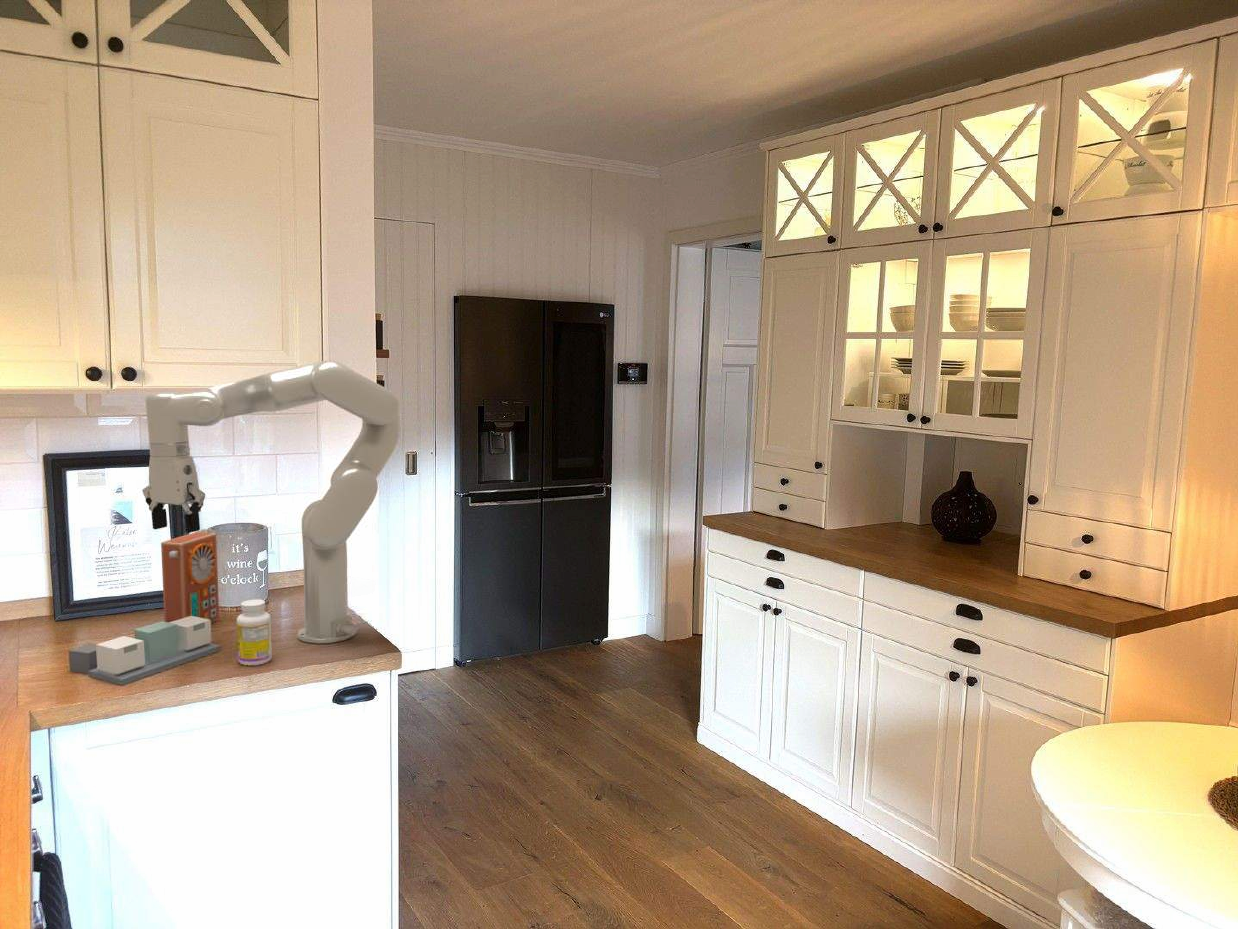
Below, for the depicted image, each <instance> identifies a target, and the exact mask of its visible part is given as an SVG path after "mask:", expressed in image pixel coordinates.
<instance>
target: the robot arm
mask: <svg viewBox="0 0 1238 929" xmlns="http://www.w3.org/2000/svg"><path fill="white" fill-rule="evenodd" d="M323 401H328V403H331V404H333V405H334V406H337V407H339V408H340V409H343V410H344V411H346V412H347V413H349V414H351V415H354V416H355V417H358V418H360V419H361V420H362V425H361V426H362V427H361V429H360V432H359V435H358V436H357V438H356V439H355V441H354V443H352V446H351V447H350V448H349V450H348V452H347V453H346V455H345V456H344V458H343V459H342V460H341V462H340V463H339V464H338V466H337V467H336V468H335V470H334V471H333V472H332V474H331V477H330V487H329V489H328V490H327V491H326V493H325V494H324V496H323V497H322V498H321V499H318V500H315V501H313V502H311V503H310V504H309V505H307V507H306V508H305V510H304V511H303V514H302V517H301V536H302V557H303V558H302V559H303V561H302V562H303V563H302V564H303V593H304V594H303V604H304V627H302V628H300V629H299V630H298V631H297V638H298V639H299V640H300V641H302V642H305V643H310V644H332V643H338V642H342V641H346V640H348V639H350V638H352V637H354V636H355V635H356V634H357V631H358V630H359V629H360V624H359V623H355V622H354V623H353V622H352V616H351V615H349V608H348V606H349V603H348V601H349V600H348V593H349V592H348V550H347V549H348V546H347V541H348V539H349V537H351V535H352V534H353V532H354V531H355V529H356V528H357V527H358V525H359V523H361V521H362V519H363V518H364V516H365V515H366V513H367V512H368V510H369V509H370V507H371V506H372V505H373V502H374V500H376V497H377V494H378V488H379V486H378V485H379V483H378V477H379V475H380V474H381V472H382V471H383V469H384V468H385V466H386V464H387V462H388V461H389V459H390V457H392V455H393V453H394V451H395V449H396V446H397V444H398V441H399V437H400V431H401V430H400V429H401V428H400V427H401V426H400V417H399V410H400V403H399V399H398V397H397V396H396V394H395V393H394V392H393V391H392V390H390V389H388V388H387V387H385V386H383V385H382V384H380V383H377V382H375V381H373V380H371V379H370V378H368V377H366V376H363V375H362V374H360V373H358V372H356V371H354V370H353V369H351V368H349V367H348V366H346V365H345V364H343V363H341V362H339V361H335V360H321V361H318V362H317V361H316V362H313V363H309V364H305V365H300V366H295V367H290V368H286V369H282V370H278V371H276V370H275V371H272V372H268V373H264V374H263V373H262V374H260V375H258V376H257V375H256V376H254V377H250V378H247V379H242V380H237V381H233V382H229V383H223V384H220V385H216V386H210V387H205V388H202V389H199V390H196V391H195V392H187V393H181V392H177V391H162V392H161V391H159V392H151V393H149V394H147V396H146V397H145V409H146V412H145V413H146V419H147V420H146V421H147V423H146V424H147V431H148V434H147V435H148V443H149V444H148V446H149V455H150V456H149V464H148V485H147V486H146V487H144V488H143V489H142V490H141V491H142V494H143V496H144V498H145V502H146V504H147V505H148V510H149V511H150V512H151V521H152V522H151V523H152V525H151V526H152V529H153V530H160V529H164V528H167V527H168V518H167V517H168V516H167V508H165V506H166V505H177V506H182V508H183V510H184V511H185V514H184V515H183V516H184V527H185V533H188V534H191V533H195V532H200V530H201V525H200V523H201V522H200V513H201V511H202V507H203V506H204V502H205V498H206V493H205V492H204V491H202V490H201V489H200V484H199V479H198V473H197V469H196V463H195V460H194V457H193V456H191V452H190V451H191V448H190V441H189V439H190V438H189V426H194V427H195V426H196V427H211V426H215V425H216V424H218V423H219V422H221V420H225V419H229V418H233V417H238V416H243V415H248V414H253V413H260V412H264V413H265V412H266V413H269V412H273V413H275V412H280V411H285V410H288V409H293V408H297V407H301V406H307V405H310V404H313V403H319V402H323Z"/></svg>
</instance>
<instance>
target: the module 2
mask: <svg viewBox="0 0 1238 929" xmlns="http://www.w3.org/2000/svg"><path fill="white" fill-rule="evenodd" d="M134 639H139V640H143V641H144V652H145V660H147V661H153V660H156V659H159V658H162V657H165V656H168V655H171V654H174V653H176V652H178V634H177V624H173V623H169V622H165V620H164V621H163V620H161V621H158V622H155V623H152V624H148V625H145V626H142V627H138V628H135V629H134Z"/></svg>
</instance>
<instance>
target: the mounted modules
mask: <svg viewBox="0 0 1238 929" xmlns="http://www.w3.org/2000/svg"><path fill="white" fill-rule="evenodd" d="M169 623H173V624H177V634H178V648H181V649H185V650H189V649H192V648H195V647H198V646H201V645H204V644H207V643H212V623H211V620H209V619H204V618H199V617H194V616H189V617H186V618H182V619H179V620H176V621H172V622H169ZM95 644H96V654H97V669H100V670H104V671H108V672H111V673H115V674H119V673H122V672H125V671H128V670H131V669H134V668H137V667H140V666H143V665H145V652H144V641H143V640H139V639H135V637H129V636H125V635H123V636H119V637H116V638H113V639H110V640H106V641H104V642H100V643H95Z"/></svg>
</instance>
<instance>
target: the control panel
mask: <svg viewBox="0 0 1238 929" xmlns="http://www.w3.org/2000/svg"><path fill="white" fill-rule="evenodd" d="M217 543H218V540H217V533H216V532H206V531H204V532H203V531H195V532H191V533H188V534H185V535H182V536H178V537H175V538H172V539H168V540H166V541H162V542H160V547H161V551H160V552H161V569H162V570H161V571H162V572H161V574H162V592H163V595H162V596H163V615H164V616H163V617H164V618H163V619H164V622H172V621H176V620H179V619H182V618H186V617H189V616H194V617H199V618H204V619H209V620H211V624H212V623H214V622H216V621H219V620H220V608H221V607H220V600H219V574H218V573H219V571H218V550H217V549H218V547H217V546H218V544H217Z"/></svg>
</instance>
